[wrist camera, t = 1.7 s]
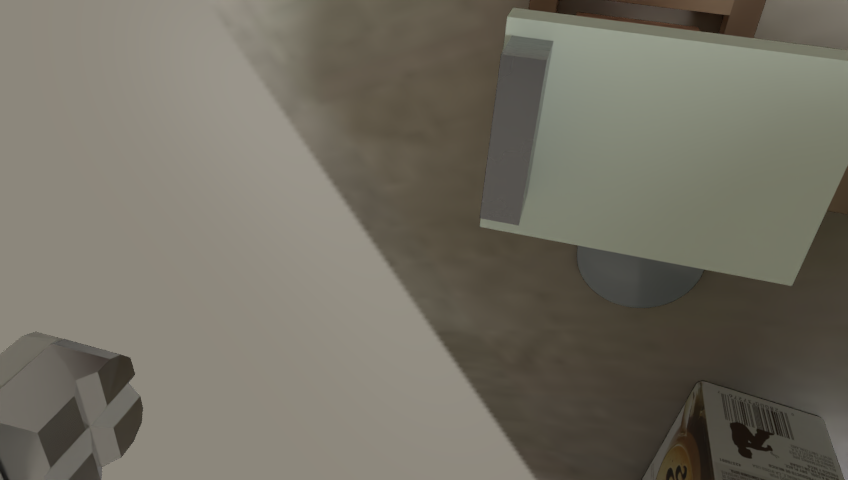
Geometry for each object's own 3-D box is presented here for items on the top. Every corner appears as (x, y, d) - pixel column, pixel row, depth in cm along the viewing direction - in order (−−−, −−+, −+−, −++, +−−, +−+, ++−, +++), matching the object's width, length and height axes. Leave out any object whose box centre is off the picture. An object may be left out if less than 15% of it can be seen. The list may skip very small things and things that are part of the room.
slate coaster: (721, 210, 28) (723, 216, 27) (685, 312, 30) (686, 318, 30) (590, 188, 29) (590, 193, 28) (567, 288, 31) (566, 294, 31)
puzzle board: (1090, 20, 21) (1229, 74, 16) (964, 229, 25) (1044, 321, 21) (538, -42, 24) (517, -13, 19) (509, 152, 29) (486, 217, 24)
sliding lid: (877, 54, 18) (922, 91, 15) (783, 265, 21) (806, 325, 19) (513, 7, 19) (495, 34, 17) (485, 210, 23) (467, 257, 21)
